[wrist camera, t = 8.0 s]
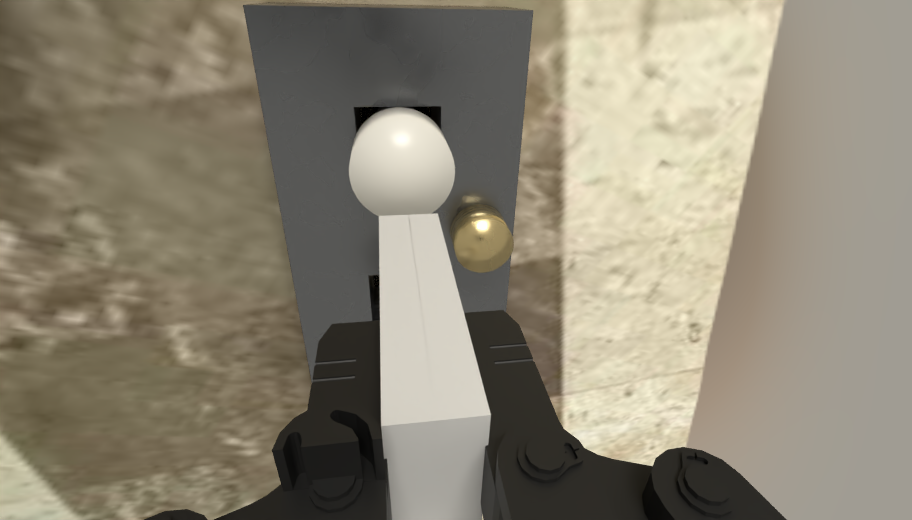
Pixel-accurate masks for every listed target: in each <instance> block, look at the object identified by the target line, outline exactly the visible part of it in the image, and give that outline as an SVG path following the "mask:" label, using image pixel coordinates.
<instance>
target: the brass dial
mask: <svg viewBox="0 0 912 520" xmlns="http://www.w3.org/2000/svg"><path fill="white" fill-rule="evenodd" d="M450 236H451V240H452V243H453V247H454V250H455V254H456V257H457V259H458V261H459V262H460V264H461V265H462V266H463V267H465V268H466V269H468V270H470V271H473V272H478V273H484V272H490V271H493V270H495V269H497V268H499V267H501V266H502V265H503V264H504V263H505V262H506V261H507V260H508V259H509V257H510V256H511V253H512V251H513V246H514V242H513V237H512V234H511V232H510V230H509V228H508V227H507V225H506V223H505V221H504V219H503V217H502V216H501V214H500V213H499V212H498V211H497V210H496V209H495V208H493V207H491V206H488V205H484V204H476V205H471V206H468V207H466V208H464V209H463V210H461V211H460V212H459V213H458V214H457V215H456V216H455V217H454V219H453V221H452V223H451V227H450Z"/></svg>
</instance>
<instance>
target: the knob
mask: <svg viewBox="0 0 912 520" xmlns="http://www.w3.org/2000/svg"><path fill="white" fill-rule="evenodd" d="M349 178H350V183H351V186H352V189H353V191H354V193H355V195H356V197H357V198H358V200H359V201H360V202H361V203H362V205H363V206H364V207H366V208H367V209H368V210H369V211H370V212H372V213H373V214H375V215H377V216H389V215H413V214H431V213H433V212H434V211H436V210H437V209H438V208H439V207H440V206H441V205H442V204H443V203H444V202H445V200H446V199H447V197H448V196H449V194H450V192H451V189H452V187H453V183H454V178H455V165H454V159H453V156H452V153H451V151H450V149H449V146H448V144H447V142H446V140H445V137H444V135H443V133H442V131H441V130H440V128H439V127H438V126H437V124H436V123H435V122H434V121H433V120H432V119H431V118H429V117H428V116H426V115H425V114H423V113H421V112H419V111H417V110H415V109H414V108H413V107H379V108H378V109H377V111H376V112H375V114H374V115H372V116H371V117H369V118H368V119H367V120H366V121H365V122H364V123H363V124H362V125H361V127H360V128H359V130H358V132H357V133H356V136H355V138H354V142H353V146H352V151H351V157H350V163H349Z"/></svg>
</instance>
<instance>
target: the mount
mask: <svg viewBox="0 0 912 520" xmlns="http://www.w3.org/2000/svg"><path fill="white" fill-rule="evenodd" d="M243 7H244V12H245V18H246V23H247V29H248V34H249V40H250V45H251V51H252V56H253V62H254V67H255V73H256V78H257V84H258V89H259V95H260V100H261V106H262V111H263V117H264V122H265V128H266V133H267V139H268V144H269V150H270V155H271V161H272V166H273V172H274V177H275V183H276V188H277V194H278V199H279V205H280V211H281V216H282V222H283V227H284V233H285V238H286V244H287V249H288V255H289V260H290V266H291V271H292V277H293V282H294V288H295V293H296V299H297V304H298V310H299V315H300V321H301V326H302V332H303V337H304V343H305V348H306V354H307V359H308V365H309V370H310V376H311V381H312V383H313V373H314V366H315V360H316V354H317V348H318V342H319V340H320V339H321V338H322V336H323V335H324V334H325V332H326V331H327V330H328V328H329V327H330V326H331V324H337V323H351V322H365V321H379V320H380V287H374V278H373V275H379V216H377V215H375V214H373V213H372V212H370V211H369V210H368V209H367V208H366V207H364V206H363V205H362V203H361V202H360V201H359V200H358V198H357V197H356V195H355V193H354V191H353V189H352V186H351V183H350V178H349V163H350V157H351V151H352V146H353V142H354V138H355V136H356V133H357V132H358V130H359V128H360V127H361V116H360V107H416V106H431V119H432V120H433V121H434V122H435V123H436V124H437V126H438V127H439V128H440V130H441V131H442V133H443V135H444V137H445V140H446V142H447V144H448V146H449V149H450V151H451V153H452V156H453V159H454V165H455V178H454V183H453V187H452V189H451V192H450V194H449V196H448V197H447V199H446V200H445V202H444V203H443V204H442V205H441V206H440V207H439V208H438V209H437V210H436V211H434V212H433V213H431V214H437V213H438V217H439V221H440V224H441V228H442V232H443V236H444V239H445V243H446V247H447V251H448V255H449V258H450V262H451V266H452V270H453V273H454V277H455V281H456V285H457V289H458V292H459V296H460V300H461V304H462V307H463V311H464V313H468V312H482V311H496V310H504V311H505V312H506V305H507V294H508V283H509V272H510V261H511V256H510V257H509V259H508V260H507V261H506V262H505V263H504V264H503V265H502V266H501V267H499V268H497V269H495V270H493V271H490V272H484V273H478V272H473V271H470V270H468V269H466V268H465V267H463V266H462V265H461V264H460V262H459V261H458V259H457V257H456V254H455V250H454V247H453V243H452V240H451V236H450V227H451V223H452V221H453V219H454V217H455V216H456V215H457V214H458V213H459V212H460V211H461V210H463V209H464V208H466V207H468V206H471V205H476V204H484V205H488V206H491V207H493V208H495V209H496V210H497V211H498V212H499V213H500V214H501V216H502V217H503V219H504V221H505V223H506V225H507V227H508V228H509V230H510V232H511V234H512V237H513V228H514V217H515V206H516V195H517V184H518V173H519V162H520V151H521V140H522V129H523V118H524V107H525V96H526V85H527V74H528V63H529V52H530V41H531V30H532V18H533V10H525V9H517V8H509V7H473V6H422V5H372V4H321V3H270V2H268V3H258V4H248V5H243Z"/></svg>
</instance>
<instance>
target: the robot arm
mask: <svg viewBox="0 0 912 520" xmlns="http://www.w3.org/2000/svg"><path fill="white" fill-rule="evenodd" d="M379 276H380V320H379V321H365V322H351V323H337V324H331V326H330V327H329V328H328V330H327V331H326V332H325V334H324V335H323V336H322V338H321V339H320V340H319V342H318V348H317V354H316V360H315V366H314V373H313V383H312V385H311V391H310V398H309V404H308V410H307V411H306V412H304V413H302V414H301V415H299V416H297V417H295V418H294V419H293V420H292V421H291V422H290V423H289V424H288V425H287V426H286V427H285V428H284V429H283V430H282V431H281V432H280V434H279V436H278V438H277V440H276V443H275V445H274V447H273V449H272V452H273V456H274V460H275V463H276V467H277V470H278V474H279V478H280V481H281V485H280V486H278V487H277V488H276V489H275V490H273V491H272V492H271V493H269V494H268V495H267V496H265V497H263V498H262V499H260V500H258V501H256V502H254V503H252V504H250V505H248V506H245V507H243V508H241V509H238V510H236V511H233V512H231V513H229V514H226V515H224V516H221V517H219V518H217V519H214V520H482V514H483V519H484V520H786V519H785V518H784V517H783V516H782V515H781V514H780V513H779V512H778V511H777V510H776V509H775V508H774V507H773V506H772V505H771V504H770V503H769V502H768V501H767V500H766V499H765V498H764V497H763V496H762V495H761V494H760V493H759V492H758V491H757V490H756V489H755V488H754V487H753V486H752V485H751V484H750V483H749V482H748V481H747V480H746V479H745V478H744V477H743V476H742V475H741V474H740V473H738V472H737V471H736V470H735V469H733V468H732V467H731V466H729V465H728V464H727V463H726V462H724V461H723V460H722V459H719V458H717V457H715V456H713V455H711V454H709V453H706V452H704V451H702V450H696V449H691V448H685V447H681V448H675V449H669V450H666V451H665V452H664V453H662V454H661V455H659V456H658V457H657V458H656V459H655V462H654V465H653V466H647V465H642V464H637V463H631V462H626V461H620V460H615V459H611V458H607V457H604V456H600V455H597V454H595V453H593V452H591V451H589V450H587V449H585V448H584V447H583V446H582V444H581V443H580V441H579V440H578V439H576V438H575V437H574V436H572V435H571V434H570V433H568V432H567V431H566V430H564V429H563V427H562V425H561V423H560V422H559V420H558V417H557V415H556V413H555V410H554V408H553V405H552V403H551V401H550V398H549V396H548V393H547V391H546V389H545V386H544V384H543V381H542V379H541V377H540V374H539V372H538V369H537V367H536V365H535V362H533V357H532V355H531V353H530V350H529V348H528V346H527V345H526V341H525V338H524V336H523V333H522V331H521V328H520V326H519V324H518V323H517V322H515V321H514V320H513V319H512V318H511V317H510V316H509V315H508V314H507V313H506V312H505V311H504V310H496V311H482V312H468V313H464V311H463V307H462V304H461V300H460V296H459V292H458V289H457V285H456V281H455V277H454V273H453V270H452V266H451V262H450V258H449V255H448V251H447V247H446V243H445V239H444V236H443V232H442V228H441V224H440V221H439V217H438V213H437V214H413V215H389V216H379ZM144 520H207V518H206V517H205V516H204V515H202V514H199V513H196V512H193V511H190V510H187V509H185V510H173V511H164V512H162V513H159V514H157V515H154V516H152V517H149V518H147V519H144Z"/></svg>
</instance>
